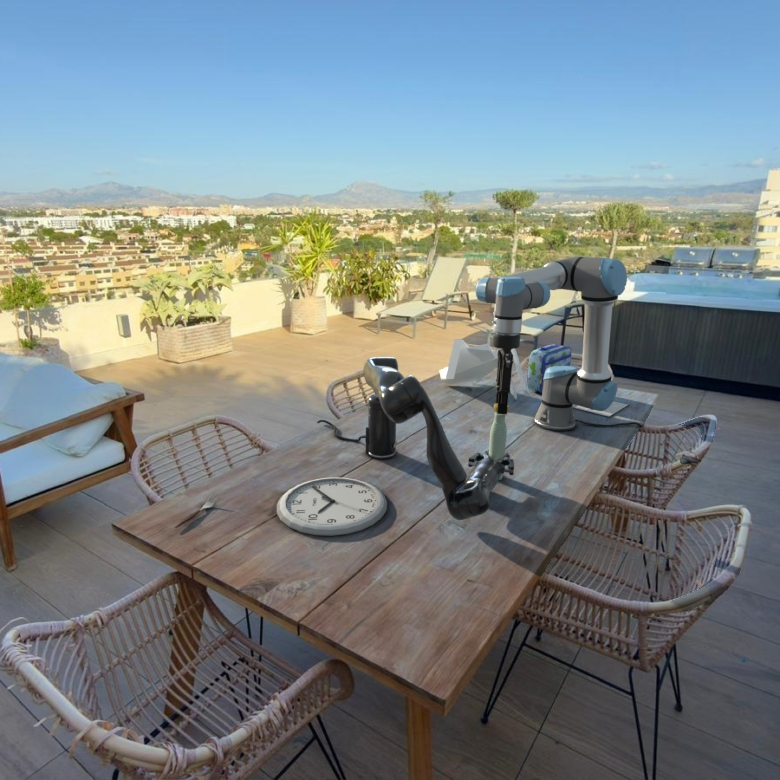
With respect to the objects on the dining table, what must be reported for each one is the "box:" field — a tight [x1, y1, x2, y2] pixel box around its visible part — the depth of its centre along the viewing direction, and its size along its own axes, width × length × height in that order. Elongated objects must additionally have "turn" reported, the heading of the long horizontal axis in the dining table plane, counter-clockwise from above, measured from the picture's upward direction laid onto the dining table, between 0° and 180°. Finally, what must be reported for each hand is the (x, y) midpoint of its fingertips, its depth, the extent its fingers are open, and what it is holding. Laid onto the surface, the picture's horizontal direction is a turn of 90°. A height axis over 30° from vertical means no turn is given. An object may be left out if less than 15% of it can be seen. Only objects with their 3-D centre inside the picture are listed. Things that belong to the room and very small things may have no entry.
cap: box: [493, 402, 510, 413], centre depth 154 cm, size 4×4×2 cm
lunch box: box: [526, 343, 572, 394], centre depth 247 cm, size 26×11×21 cm, turn 134°
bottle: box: [488, 411, 508, 481], centre depth 158 cm, size 5×5×21 cm
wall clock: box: [276, 476, 388, 537], centre depth 142 cm, size 30×2×30 cm
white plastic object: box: [438, 310, 531, 400], centre depth 245 cm, size 37×45×31 cm
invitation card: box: [573, 400, 629, 418], centre depth 226 cm, size 21×1×15 cm
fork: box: [174, 492, 220, 529], centre depth 137 cm, size 3×16×2 cm, turn 160°
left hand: (498, 454), depth 161 cm, fingers closed on bottle, 4 cm apart
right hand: (500, 410), depth 155 cm, fingers closed on cap, 4 cm apart
